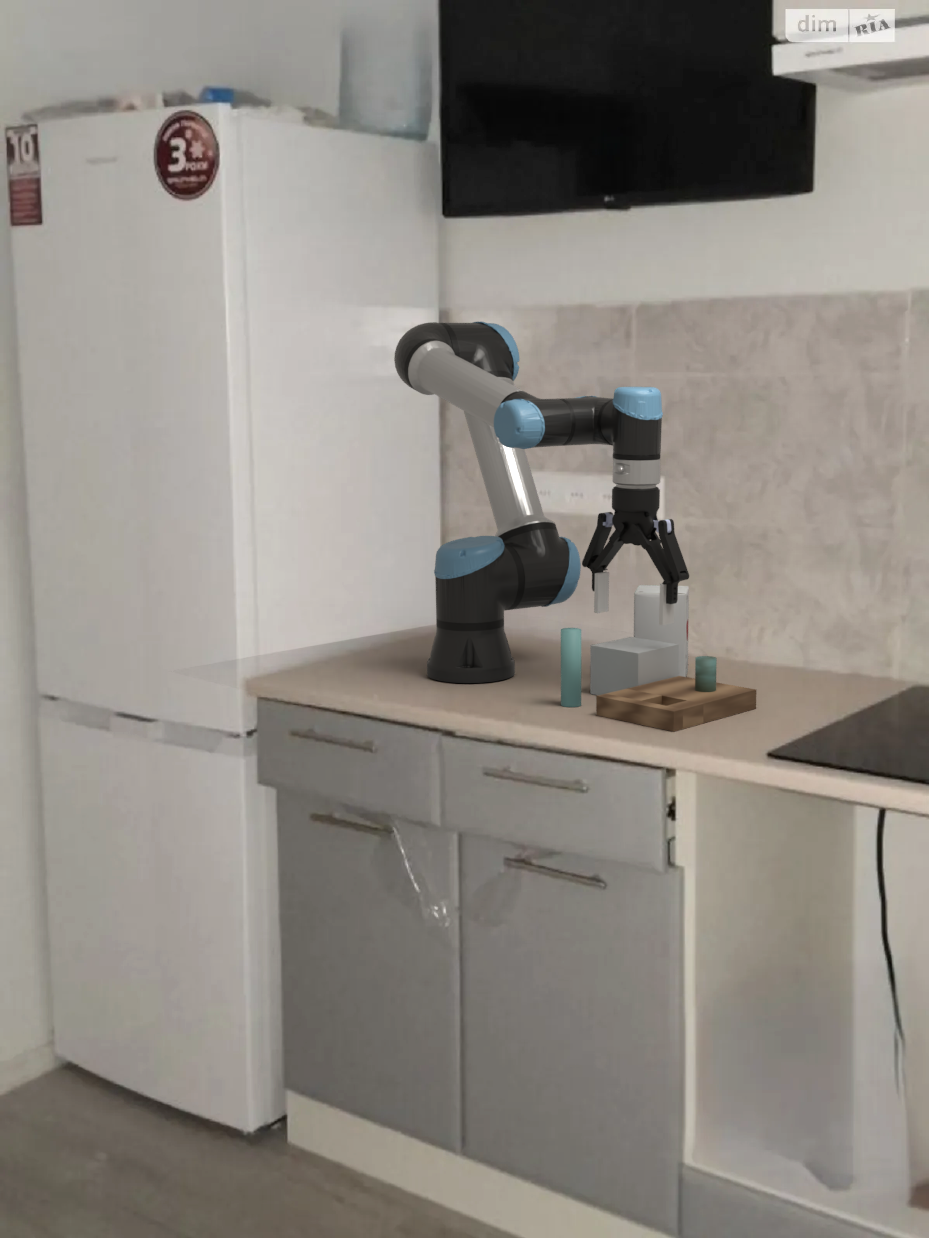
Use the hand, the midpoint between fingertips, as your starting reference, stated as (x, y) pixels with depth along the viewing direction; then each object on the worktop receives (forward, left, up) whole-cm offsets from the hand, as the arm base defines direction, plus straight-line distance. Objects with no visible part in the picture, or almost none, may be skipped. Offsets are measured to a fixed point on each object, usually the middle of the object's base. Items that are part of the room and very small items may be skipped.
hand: (633, 618), depth 244 cm
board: (+13, -6, -12) cm, 19 cm away
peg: (-2, -13, -12) cm, 18 cm away
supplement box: (-6, +14, -13) cm, 20 cm away
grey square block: (0, 0, -12) cm, 12 cm away
